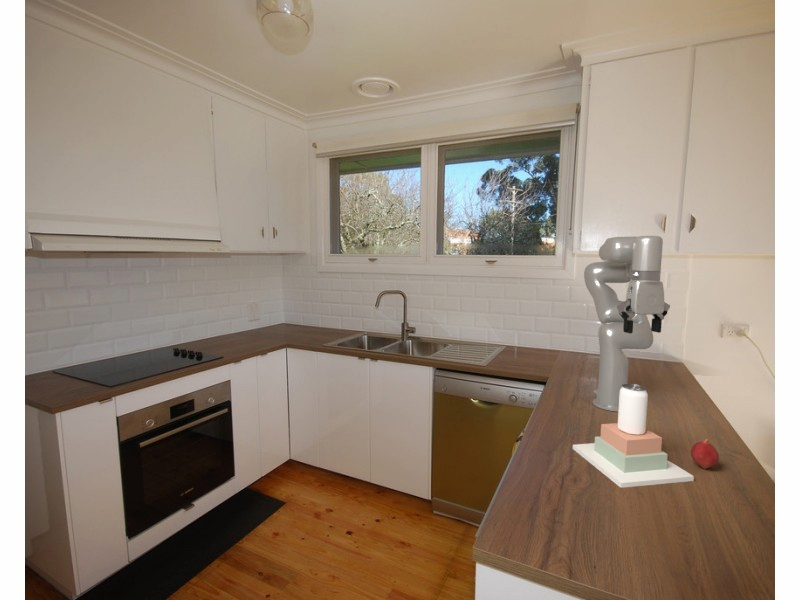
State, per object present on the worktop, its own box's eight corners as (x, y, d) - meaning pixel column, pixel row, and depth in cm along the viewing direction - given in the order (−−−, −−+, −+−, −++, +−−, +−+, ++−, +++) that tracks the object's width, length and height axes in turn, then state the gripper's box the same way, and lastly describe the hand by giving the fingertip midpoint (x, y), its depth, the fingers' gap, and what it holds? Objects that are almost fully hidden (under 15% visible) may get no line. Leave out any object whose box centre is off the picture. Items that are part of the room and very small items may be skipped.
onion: (684, 464, 107) (687, 436, 106) (699, 460, 109) (701, 432, 108) (707, 475, 101) (710, 445, 100) (722, 471, 103) (725, 442, 102)
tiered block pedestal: (572, 448, 115) (574, 418, 114) (634, 444, 118) (636, 414, 117) (620, 487, 96) (623, 451, 95) (693, 480, 99) (696, 445, 98)
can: (620, 423, 111) (622, 381, 110) (647, 429, 107) (650, 386, 105) (614, 431, 106) (617, 387, 105) (643, 438, 102) (646, 392, 100)
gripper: (628, 277, 116) (625, 335, 118) (681, 277, 119) (676, 333, 120) (611, 276, 123) (608, 330, 125) (660, 276, 126) (657, 329, 128)
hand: (641, 332), depth 123 cm, fingers open, 9 cm apart
